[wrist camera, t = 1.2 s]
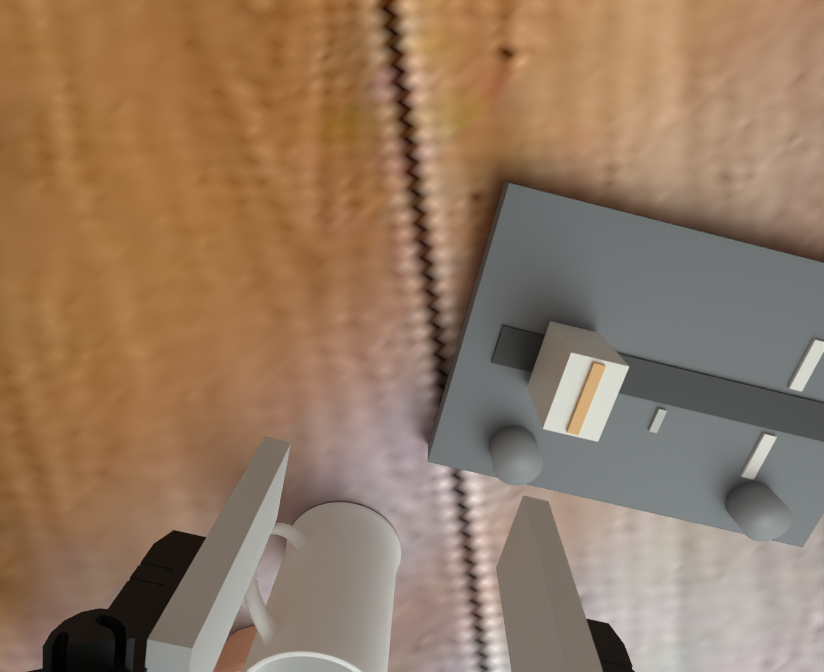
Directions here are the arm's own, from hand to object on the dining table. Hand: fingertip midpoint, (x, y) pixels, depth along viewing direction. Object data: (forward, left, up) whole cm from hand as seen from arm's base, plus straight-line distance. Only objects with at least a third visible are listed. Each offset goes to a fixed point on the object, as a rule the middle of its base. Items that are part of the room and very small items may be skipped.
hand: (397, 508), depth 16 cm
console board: (0, +16, -19) cm, 25 cm away
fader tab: (0, +9, -17) cm, 19 cm away
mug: (+18, -2, -19) cm, 26 cm away
